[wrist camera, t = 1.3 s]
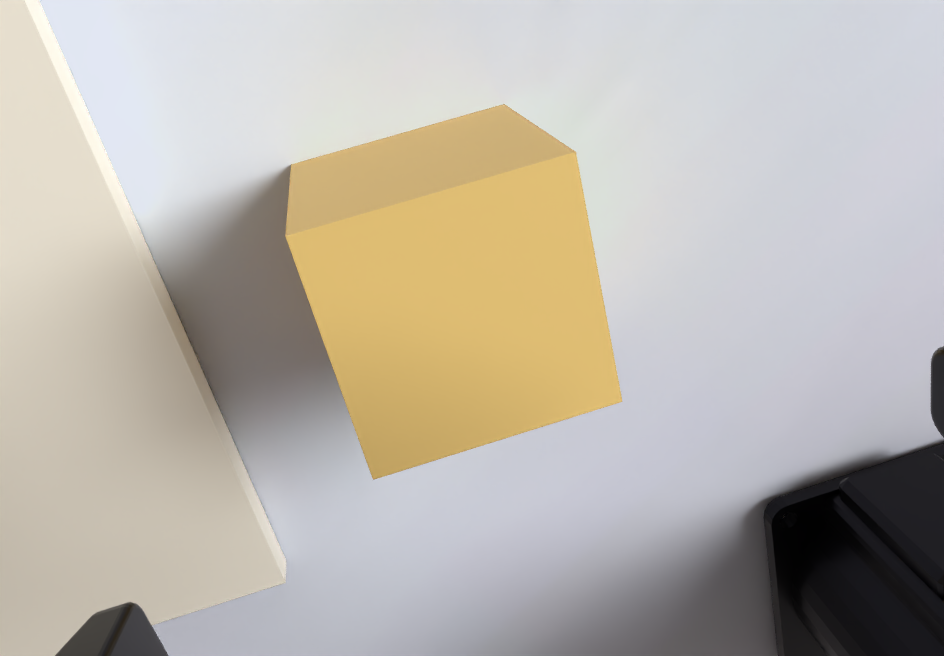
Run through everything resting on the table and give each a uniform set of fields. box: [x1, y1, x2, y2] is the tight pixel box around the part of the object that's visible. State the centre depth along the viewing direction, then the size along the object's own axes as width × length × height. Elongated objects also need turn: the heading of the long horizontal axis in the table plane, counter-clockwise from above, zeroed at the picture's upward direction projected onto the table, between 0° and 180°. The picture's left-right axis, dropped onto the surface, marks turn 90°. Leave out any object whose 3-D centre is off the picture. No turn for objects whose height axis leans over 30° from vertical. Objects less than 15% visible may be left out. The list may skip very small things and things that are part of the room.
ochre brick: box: [285, 104, 622, 480], centre depth 15 cm, size 4×4×5 cm
